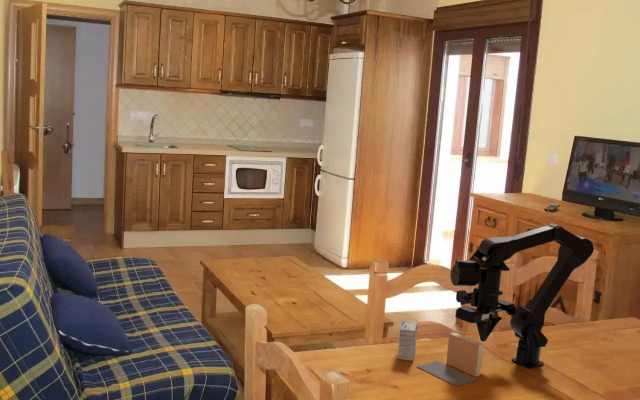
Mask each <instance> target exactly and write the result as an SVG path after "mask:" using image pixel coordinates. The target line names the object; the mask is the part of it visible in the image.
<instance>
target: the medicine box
mask: <svg viewBox="0 0 640 400" xmlns="http://www.w3.org/2000/svg"><path fill="white" fill-rule="evenodd" d="M417 333H418V322H417V321H416V322H414V321H408V320H404V321H403V320H402V322H401V325H400V329H399V333H398V334H399V336H398V348H397V360H404V361H411V362H413V361H414V359H415V355H416V348H417V346H416V345H417V336H418V335H417Z"/></svg>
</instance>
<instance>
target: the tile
mask: <svg viewBox="0 0 640 400" xmlns="http://www.w3.org/2000/svg"><path fill="white" fill-rule="evenodd" d="M447 345H448V346H447V353H446V365H448V366H450V367H451V366H452V368H454V369H457V370H459V371H461V372H462V371H463V373H465V374H467V375H470V376H472V377H478V376H481V373H482V363H483V355H484V345H485V344H484V343H482V342H479V341H477V340H474V339H472V338H470V337H467V336H465V335H463V334H460V333H458V332H455V331H454V332H450V333H449V334H448V343H447Z"/></svg>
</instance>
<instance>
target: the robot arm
mask: <svg viewBox="0 0 640 400" xmlns="http://www.w3.org/2000/svg"><path fill="white" fill-rule="evenodd" d="M551 242H555V243H557V244H559V248H558V252H557V260H556V262H555V263H554V265H553V266H552V268H551V269H550V271H549V273H548V274H547V276H546V277H545V279H543V281H542V283H541V284H540V286H539V288H538V289H537V291H536V293H535V294H534V295H533V297H532V298H531V300H530V301H529V303H527V304H525V305H524V306H523V305H521V304H518V305H517V306H516V305H515V304H514V302H510V301H507V300H504V299H502V298H501V299H500V298H499V297H500V296H502V295H503V292H504V291H503V290H501V288H500V287H501V279H502V271H503V272H509V271H510V270H511V269H510V267H508V265H507V264H506V263H505V261H508V260H510V259H511V258H512V257H513V256H514V255H516V254H517V253H519V252H521V251H522V252H523V251H525V250H529V249H532V248H536V247H539V246H541V245H545V244H548V243H551ZM594 250H595V248H594V244H593V242H592V241H591V240H590V239H588V238H586V237H583V236H582V235H581V236H580V235H578V234H576V233H572V232H570V231H568V230H567V229H565V228H564V227H563V226H561V225H559V224H555V223H548V224H547V225H544V226H541V227H538V228H535V229H531V230H527V231H524V232H521V233H518V234H514V235H510V236H495V237H486V238H484V239H482V240H481V242H480V243H479V245H478V248H477V249H476V250H475V252H474V253H473V254H472V255H471V256H470V257H469V260H461V259H456V260H455V264H453V265H452V268H451V269H450V281H451V284H452V285H453V286H455V287H467V286H468V287H474V288H473V290H472V291H469V292H467V291H466V289H462V290H461V289H460V290H457V291H456V295H455V300H456V302H457V303H460V307H458V308H456V309H455V318H456V319H459V320H462V321H464V322H467V323H468V324H469V323H470V324H476V327H477V331H478V335H479V339H480V341H481V342H486V341H487V340H488V338H489V337H490V335H491V333H492V332H493V331H494V329H495V327H496V326H497V325H498V324H499V322H500V321H501V320H502V319H503V317H501V316H499V313H498V312H503V311H505V312H506V314H507V315H508V316H510V317H511V319H510V321H509V324H510V328H511V330H512V331H513V332H514V335H515V337H516V338H518V339H519V340H518V341H517V347H516V356H515V357H513V358H511V361H512V362H514V363H516V364H519V365H521V366H523V367H526V368H528V369H533V368H536V367H538V366H541V365H544V364H545V362H544V361H542V360H540V357H541V351H542V350H541V348H545V347H547V343H548V342H549V339H548V338H547V337H546V336H545V335H544V333H543V332H542V329H543V327H544V325H545V319H546V318H545V317H546V313H547V311H548V309H549V308H550V306H551V305H552V304H553V302H554V300H555V299H556V297H557V296H558V295H559V293H560V291H561V289H562V288H563V287H564V285H565V283H566V282H568V281H567V280H568V279H569V278H570V276H571V274H572V273H573V272H574V270H575V269H577V268H579V267H580V266H583V264H585V263H586V262H587V261H588V259H589V258H590V257H592V255H593V253H594ZM475 286H477V287H475ZM469 304H470V306H468V305H469ZM473 307H474V308H473Z"/></svg>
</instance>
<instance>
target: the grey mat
mask: <svg viewBox="0 0 640 400" xmlns="http://www.w3.org/2000/svg"><path fill="white" fill-rule="evenodd" d="M416 368H417V369H420V370H422V371H424V372H426V373H428V374H430V375H432V376H433V377H436V378H438V379H440V380H443V381H444V382H447V383H448V384H450V385H452V386H455V387H460V386H463V385H466V384H469V383H470V384H471V383H473V382H476V381H478V378H475V377H474V376H472V375H470V374H468V373H466V372H464V371H463V372H462V371H461V370H459V369H457V368H455V367H453V366H452V367H451V365H448V364H445V363H443V362H441V361H439V360H436V361H432V362H428V363H423V364H420V365H417V366H416Z"/></svg>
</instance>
